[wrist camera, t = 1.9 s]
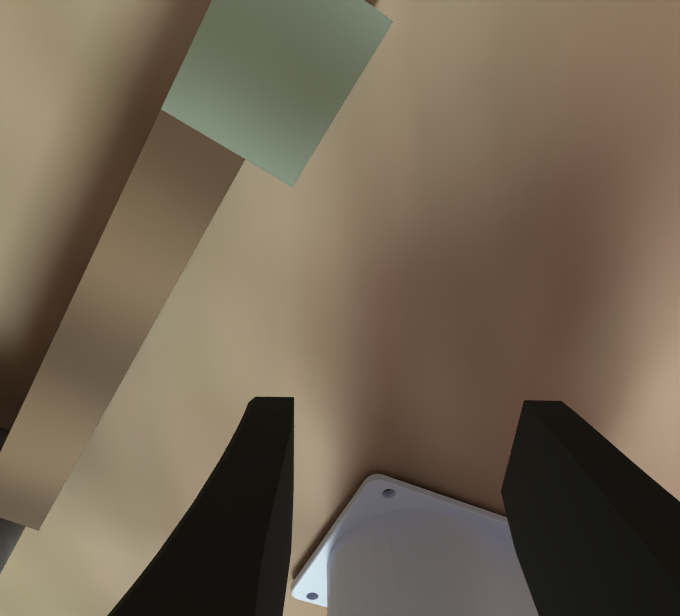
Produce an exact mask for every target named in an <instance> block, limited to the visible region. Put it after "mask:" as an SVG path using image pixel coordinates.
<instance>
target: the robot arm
mask: <svg viewBox="0 0 680 616" xmlns="http://www.w3.org/2000/svg"><path fill="white" fill-rule="evenodd" d="M386 489H392V490H389V491H386ZM293 491H294V397H255V398H253V399H252V400H251V401H250V402H249V403H248V405H247V408H246V410H245V413H244V415H243V417H242V419H241V421H240V423H239V425H238V427H237V429H236V431H235V433H234V435H233V437H232V439H231V441H230V443H229V444H228V446H227V448H226V450H225V452H224V453H223V455H222V457H221V459H220V460H219V462H218V464H217V465H216V467H215V468H214V470H213V472H212V473H211V475H210V477H209V478H208V480H207V481H206V483H205V485H204V486H203V488H202V489H201V491H200V493H199V494H198V496H197V497H196V499H195V500H194V502H193V503H192V505H191V506H190V508H189V509H188V511H187V512H186V514H185V515H184V516H183V518H182V519H181V521H180V522H179V523H178V525H177V526H176V528H175V529H174V531H173V532H172V533H171V535H170V536H169V538H168V539H167V540H166V542H165V543H164V545H163V546H162V547H161V549H160V550H159V552H158V553H157V554H156V556H155V557H154V558H153V560H152V561H151V562H150V563H149V565H148V566H147V567H146V569H145V570H144V571H143V573H142V574H141V575H140V576H139V578H138V579H137V580H136V581H135V583H134V584H133V585H132V586H131V588H130V589H129V590H128V591H127V593H126V594H125V595H124V596H123V597H122V599H121V600H120V601H119V602H118V603H117V605H116V606H115V607H114V608H113V610H112V611H111V612H110V613H109V614H108V616H282V615H283V608H284V600H285V593H286V585H287V578H288V571H289V563H290V555H291V542H292V517H293ZM501 493H502V497H503V502H504V506H505V511H506V515H507V517H504V516H501V515H498V514H496V513H493V512H490V511H487V510H484V509H481V508H478V507H475V506H472V505H469V504H467V503H464V502H461V501H458V500H455V499H452V498H449V497H446V496H443V495H440V494H438V493H435V492H432V491H429V490H426V489H423V488H420V487H417V486H414V485H411V484H408V483H406V482H403V481H400V480H397V479H394V478H391V477H388V476H385V475H382V474H373V475H370V476H368V477H367V478H366V479H365V480H364V482H363V483H362V485H361V486H360V488H359V489H358V490H357V492H356V493H355V495H354V496H353V497H352V499H351V500H350V502H349V503H348V505H347V506H346V507H345V509H344V510H343V512H342V513H341V514H340V516H339V517H338V519H337V520H336V522H335V523H334V524H333V526H332V527H331V529H330V530H329V531H328V533H327V534H326V536H325V537H324V539H323V540H322V541H321V543H320V544H319V546H318V547H317V548H316V550H315V551H314V553H313V554H312V556H311V557H310V558H309V560H308V561H307V563H306V564H305V565H304V567H303V568H302V570H301V571H300V572H299V574H298V575H297V577H296V578H295V580H294V581H293V582H292V584H291V595H292V596H293V597H294V598H296V599H299V600H303V601H306V602H310V603H314V604H317V605H321V606H325V607H327V616H680V502H679V501H678V500H677V499H676V498H675V497H673V496H672V495H671V494H670V493H669V492H667V491H666V490H665V489H664V488H663V487H661V486H660V485H659V484H658V483H657V482H655V481H654V480H653V479H652V478H651V477H650V476H648V475H647V474H646V473H645V472H644V471H643V470H641V469H640V468H639V467H638V466H637V465H636V464H634V463H633V462H632V461H631V460H630V459H629V458H627V457H626V456H625V455H624V454H623V453H622V452H621V451H619V450H618V449H617V448H616V447H615V446H614V445H613V444H611V443H610V442H609V441H608V440H607V439H606V438H604V437H603V436H602V435H601V434H600V433H599V432H598V431H596V430H595V429H594V428H593V427H592V426H591V425H590V424H588V423H587V422H586V421H585V420H584V419H583V418H581V417H580V416H579V415H578V414H577V413H576V412H574V411H573V410H572V409H571V408H569V407H568V406H567V405H566V404H564V403H563V402H562V401H532V400H524V403H523V407H522V411H521V415H520V419H519V423H518V427H517V430H516V434H515V438H514V442H513V446H512V450H511V454H510V458H509V462H508V466H507V470H506V474H505V478H504V482H503V486H502V490H501Z"/></svg>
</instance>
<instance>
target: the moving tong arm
mask: <svg viewBox="0 0 680 616" xmlns="http://www.w3.org/2000/svg"><path fill="white" fill-rule="evenodd" d="M392 22H393V21H392V20H391V19H389V18H388V17H387V16H385V15H384V14H383V13H381V12H380V11H379V10H377V9H376V8H374V7H373V6H372V5H370V4H369V3H368V2H366V1H365V0H212V1H211V3H210V5H209V7H208V9H207V12H206V14H205V16H204V18H203V20H202V22H201V24H200V27H199V29H198V31H197V33H196V35H195V37H194V39H193V42H192V44H191V46H190V48H189V50H188V52H187V54H186V57H185V59H184V61H183V63H182V65H181V67H180V69H179V71H178V74H177V76H176V78H175V80H174V82H173V84H172V86H171V89H170V91H169V93H168V95H167V97H166V99H165V101H164V104H163V106H162V108H161V110H160V112H159V114H158V116H157V118H156V121H155V123H154V125H153V127H152V129H151V131H150V133H149V136H148V138H147V140H146V142H145V144H144V146H143V148H142V151H141V153H140V155H139V157H138V159H137V161H136V163H135V165H134V168H133V170H132V172H131V174H130V176H129V178H128V180H127V183H126V185H125V187H124V189H123V191H122V193H121V195H120V198H119V200H118V202H117V204H116V206H115V208H114V210H113V212H112V215H111V217H110V219H109V221H108V223H107V225H106V227H105V230H104V232H103V234H102V236H101V238H100V240H99V242H98V245H97V247H96V249H95V251H94V253H93V255H92V257H91V260H90V262H89V264H88V266H87V268H86V270H85V272H84V274H83V277H82V279H81V281H80V283H79V285H78V287H77V289H76V292H75V294H74V296H73V298H72V300H71V302H70V304H69V307H68V309H67V311H66V313H65V315H64V317H63V319H62V321H61V324H60V326H59V328H58V330H57V332H56V334H55V336H54V339H53V341H52V343H51V345H50V347H49V349H48V351H47V354H46V356H45V358H44V360H43V362H42V364H41V366H40V368H39V371H38V373H37V375H36V377H35V379H34V381H33V383H32V386H31V388H30V390H29V392H28V394H27V396H26V398H25V401H24V403H23V405H22V407H21V409H20V411H19V413H18V415H17V418H16V420H15V422H14V424H13V426H12V428H11V430H10V433H9V435H8V437H7V439H6V441H5V443H4V445H3V448H2V450H1V452H0V518H3V519H6V520H9V521H12V522H15V523H18V524H21V525H24V526H27V527H29V528H32V529H35V530H39V529H40V527H41V525H42V523H43V521H44V520H45V518H46V516H47V514H48V512H49V511H50V509H51V507H52V505H53V504H54V502H55V500H56V498H57V496H58V495H59V493H60V491H61V489H62V487H63V486H64V484H65V482H66V480H67V478H68V477H69V475H70V473H71V471H72V469H73V468H74V466H75V464H76V462H77V460H78V459H79V457H80V455H81V453H82V451H83V450H84V448H85V446H86V444H87V442H88V441H89V439H90V437H91V435H92V433H93V432H94V430H95V428H96V426H97V424H98V423H99V421H100V419H101V417H102V415H103V414H104V412H105V410H106V408H107V406H108V405H109V403H110V401H111V399H112V398H113V396H114V394H115V392H116V390H117V389H118V387H119V385H120V383H121V381H122V380H123V378H124V376H125V374H126V372H127V371H128V369H129V367H130V365H131V363H132V362H133V360H134V358H135V356H136V354H137V353H138V351H139V349H140V347H141V345H142V344H143V342H144V340H145V338H146V336H147V335H148V333H149V331H150V329H151V327H152V326H153V324H154V322H155V320H156V318H157V317H158V315H159V313H160V311H161V309H162V308H163V306H164V304H165V302H166V301H167V299H168V297H169V295H170V293H171V292H172V290H173V288H174V286H175V284H176V283H177V281H178V279H179V277H180V275H181V274H182V272H183V270H184V268H185V266H186V265H187V263H188V261H189V259H190V257H191V256H192V254H193V252H194V250H195V248H196V247H197V245H198V243H199V241H200V239H201V238H202V236H203V234H204V232H205V230H206V229H207V227H208V225H209V223H210V221H211V220H212V218H213V216H214V214H215V212H216V211H217V209H218V207H219V205H220V204H221V202H222V200H223V198H224V196H225V195H226V193H227V191H228V189H229V187H230V186H231V184H232V182H233V180H234V178H235V177H236V175H237V173H238V171H239V169H240V168H241V166H242V164H243V162H244V160H245V159H246V160H248V161H249V162H251V163H253V164H254V165H256V166H258V167H259V168H261V169H263V170H264V171H266V172H268V173H269V174H271V175H273V176H275V177H276V178H278V179H280V180H281V181H283V182H285V183H286V184H288V185H290V186H291V187H293V185H294V183H295V182H296V180H297V178H298V177H299V175H300V173H301V172H302V170H303V169H304V167H305V165H306V164H307V162H308V160H309V159H310V157H311V155H312V154H313V152H314V150H315V149H316V147H317V146H318V144H319V142H320V141H321V139H322V137H323V136H324V134H325V132H326V131H327V129H328V127H329V126H330V124H331V123H332V121H333V119H334V118H335V116H336V114H337V113H338V111H339V109H340V108H341V106H342V105H343V103H344V101H345V100H346V98H347V96H348V95H349V93H350V91H351V90H352V88H353V86H354V85H355V83H356V82H357V80H358V78H359V77H360V75H361V73H362V72H363V70H364V68H365V67H366V65H367V63H368V62H369V60H370V59H371V57H372V55H373V54H374V52H375V50H376V49H377V47H378V45H379V44H380V42H381V41H382V39H383V37H384V36H385V34H386V32H387V31H388V29H389V27H390V26H391V24H392Z"/></svg>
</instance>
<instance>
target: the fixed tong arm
mask: <svg viewBox="0 0 680 616" xmlns="http://www.w3.org/2000/svg"><path fill="white" fill-rule="evenodd" d="M9 433H10V432H9V431H6V430H3V429H0V452H1V450H2V448H3V445H4V443H5V441H6V439H7V437H8V435H9ZM25 527H26V526H24V525H21V524H18V523H15V522H12V521H9V520H6V519H3V518H0V573H1V571H2V570H3V568H4V566H5V564H6V562H7V560H8V558H9V557H10V555H11V553H12V551H13V549H14V547H15V545H16V543H17V542H18V540H19V538H20V536H21V534H22V532H23V530H24V528H25Z"/></svg>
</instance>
